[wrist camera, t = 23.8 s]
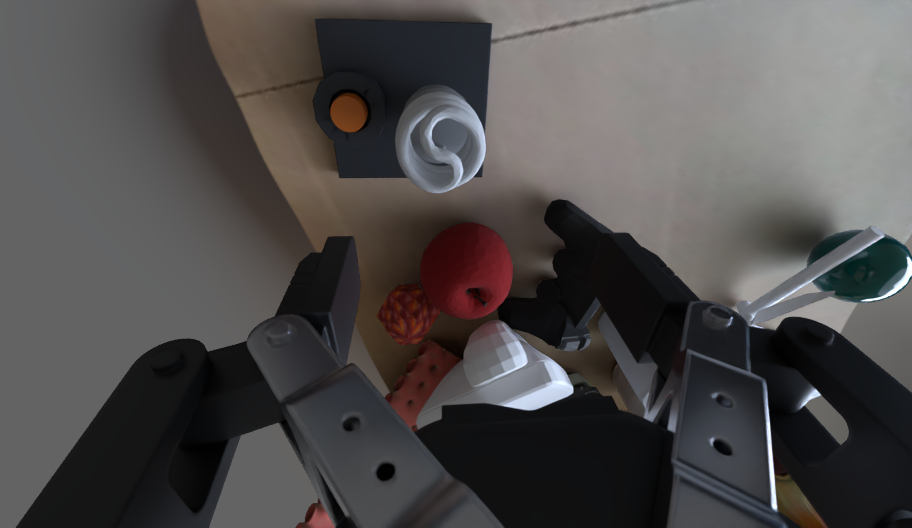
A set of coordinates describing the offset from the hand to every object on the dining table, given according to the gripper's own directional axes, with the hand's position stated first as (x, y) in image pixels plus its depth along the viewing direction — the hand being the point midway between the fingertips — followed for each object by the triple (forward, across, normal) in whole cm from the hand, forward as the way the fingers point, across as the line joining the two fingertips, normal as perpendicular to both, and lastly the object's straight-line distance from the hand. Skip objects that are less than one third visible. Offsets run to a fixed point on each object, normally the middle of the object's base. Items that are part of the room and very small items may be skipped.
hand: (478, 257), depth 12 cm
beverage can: (+24, -23, +26) cm, 42 cm away
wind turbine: (+17, -41, +9) cm, 46 cm away
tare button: (+22, +7, 0) cm, 23 cm away
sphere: (+24, -46, +15) cm, 54 cm away
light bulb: (+23, 0, 0) cm, 23 cm away
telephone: (+13, -7, +30) cm, 33 cm away
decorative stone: (+24, +4, +20) cm, 31 cm away
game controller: (+24, -13, +17) cm, 32 cm away
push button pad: (+24, +3, 0) cm, 24 cm away
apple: (+24, -2, +14) cm, 28 cm away
